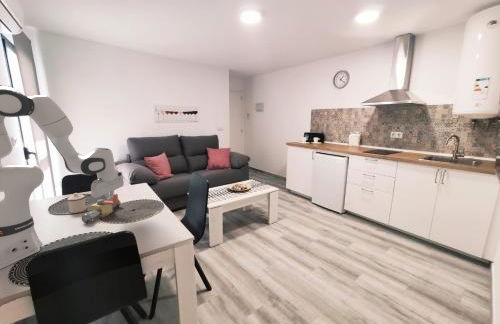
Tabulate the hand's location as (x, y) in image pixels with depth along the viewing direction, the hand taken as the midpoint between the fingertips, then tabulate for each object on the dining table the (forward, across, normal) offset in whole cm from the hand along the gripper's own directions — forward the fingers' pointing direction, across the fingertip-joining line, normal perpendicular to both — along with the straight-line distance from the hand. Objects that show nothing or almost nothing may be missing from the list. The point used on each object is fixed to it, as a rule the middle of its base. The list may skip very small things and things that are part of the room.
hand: (110, 199), depth 125 cm
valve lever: (+5, +5, +6) cm, 9 cm away
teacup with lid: (+14, +8, +33) cm, 36 cm away
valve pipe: (+13, +5, +11) cm, 17 cm away
